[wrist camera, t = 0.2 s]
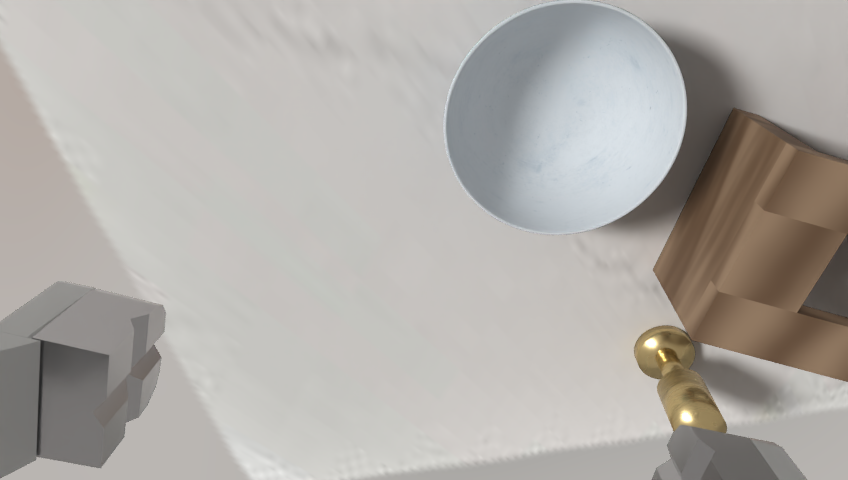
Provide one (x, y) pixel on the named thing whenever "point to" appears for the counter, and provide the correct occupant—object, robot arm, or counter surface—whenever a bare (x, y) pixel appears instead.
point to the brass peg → (677, 378)
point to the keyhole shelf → (760, 248)
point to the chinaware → (565, 117)
